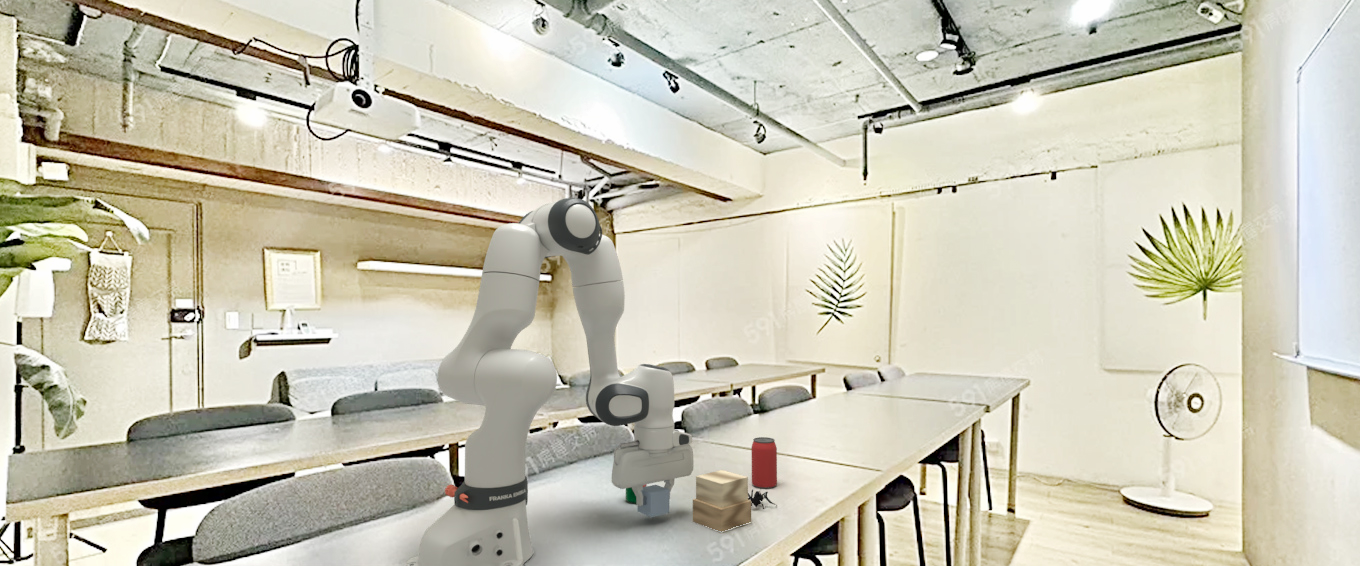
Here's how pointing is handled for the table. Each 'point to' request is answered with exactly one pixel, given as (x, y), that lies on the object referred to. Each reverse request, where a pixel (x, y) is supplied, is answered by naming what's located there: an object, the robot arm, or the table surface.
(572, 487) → the table surface
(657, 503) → the blue gray block
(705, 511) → the block lower
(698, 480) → the block upper
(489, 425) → the robot arm
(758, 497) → the creature
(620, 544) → the table surface
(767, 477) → the beer can
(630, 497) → the soda can
